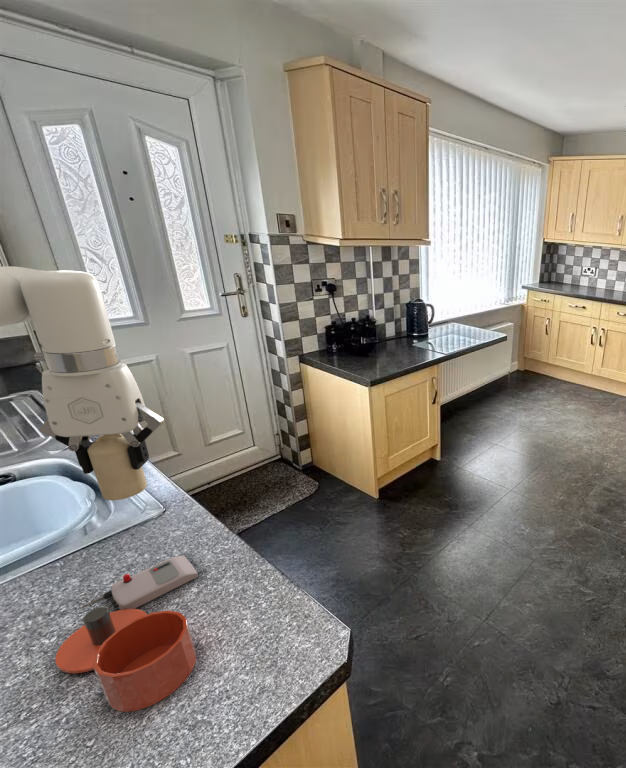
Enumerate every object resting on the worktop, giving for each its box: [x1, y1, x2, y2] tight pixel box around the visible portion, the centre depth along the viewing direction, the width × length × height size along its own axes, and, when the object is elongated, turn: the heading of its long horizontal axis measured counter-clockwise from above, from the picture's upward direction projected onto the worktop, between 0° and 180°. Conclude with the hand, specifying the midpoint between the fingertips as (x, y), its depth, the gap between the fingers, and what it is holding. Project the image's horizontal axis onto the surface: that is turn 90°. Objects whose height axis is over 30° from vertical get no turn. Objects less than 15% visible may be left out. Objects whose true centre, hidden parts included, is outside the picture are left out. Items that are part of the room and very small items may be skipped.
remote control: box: [81, 555, 202, 611], centre depth 71 cm, size 7×16×3 cm, turn 143°
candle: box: [87, 434, 148, 501], centre depth 67 cm, size 6×6×10 cm
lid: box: [54, 606, 148, 674], centre depth 61 cm, size 10×10×6 cm
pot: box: [93, 609, 197, 713], centre depth 57 cm, size 9×9×6 cm
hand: (117, 466), depth 67 cm, fingers closed on candle, 5 cm apart
